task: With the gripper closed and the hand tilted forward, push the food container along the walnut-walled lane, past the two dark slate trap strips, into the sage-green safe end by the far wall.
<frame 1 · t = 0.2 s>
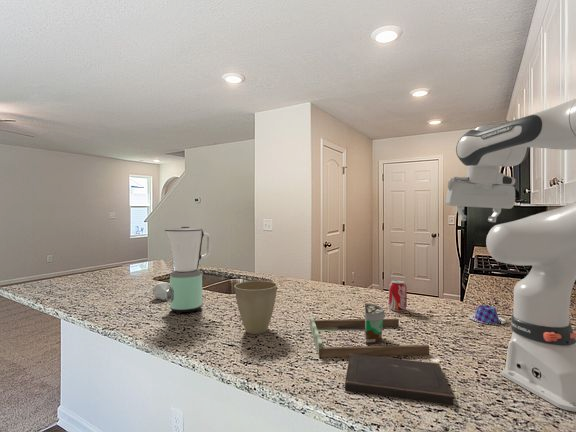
hand: (477, 221, 104), 38 cm above the countertop, tool pointing down, fingers open, 8 cm apart
green blender: (188, 310, 137), on the countertop
grey rock: (162, 299, 154), on the countertop
soda can: (397, 310, 136), on the countertop
food container: (375, 339, 105), on the countertop
plant pot: (256, 330, 114), on the countertop
hardcover book: (394, 382, 80), on the countertop
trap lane: (363, 339, 105), on the countertop
blue plaid hat: (486, 321, 123), on the countertop
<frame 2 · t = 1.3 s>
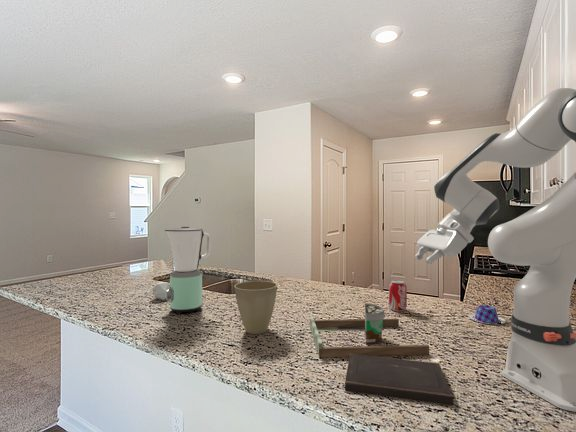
hand: (422, 260, 105), 25 cm above the countertop, tool tilted 45°, fingers open, 6 cm apart
nothing on the countertop moved.
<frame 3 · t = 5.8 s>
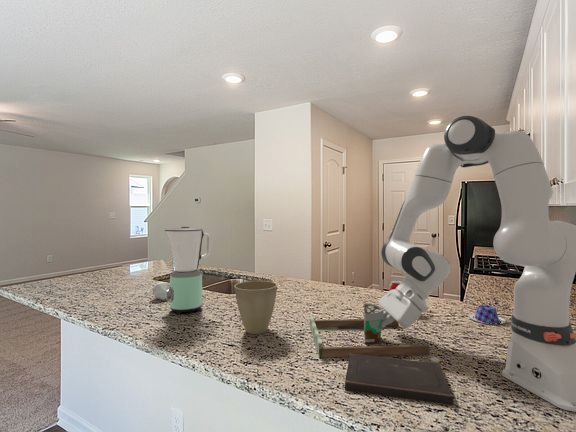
hand: (379, 325, 105), 4 cm above the countertop, tool tilted 45°, fingers closed, pressing on food container
food container: (374, 339, 105), on the countertop, touching gripper
everything else where it was.
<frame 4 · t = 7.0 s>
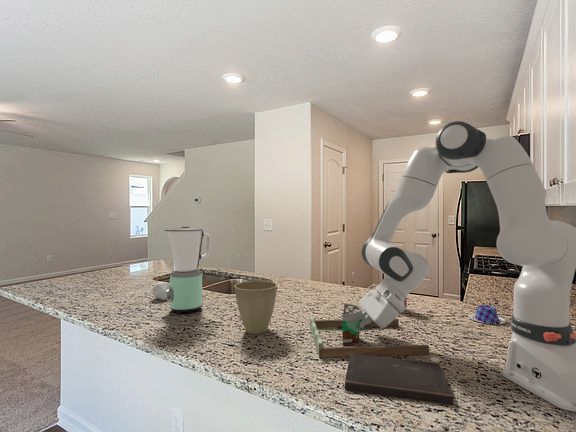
hand: (358, 325, 105), 5 cm above the countertop, tool tilted 45°, fingers closed, pressing on food container
food container: (352, 340, 105), on the countertop, touching gripper
everything else where it was.
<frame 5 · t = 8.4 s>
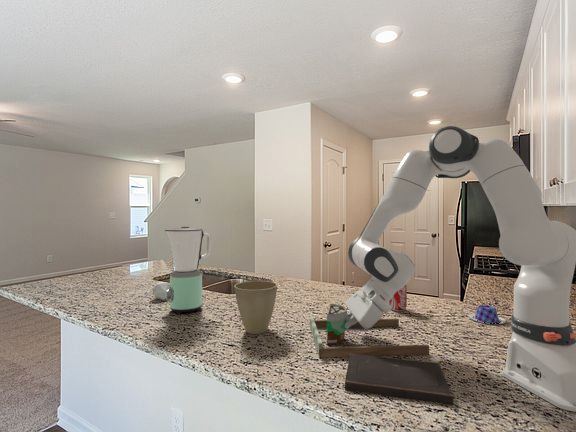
hand: (344, 325, 105), 4 cm above the countertop, tool tilted 45°, fingers closed, pressing on food container
food container: (338, 340, 105), on the countertop, touching gripper
everything else where it was.
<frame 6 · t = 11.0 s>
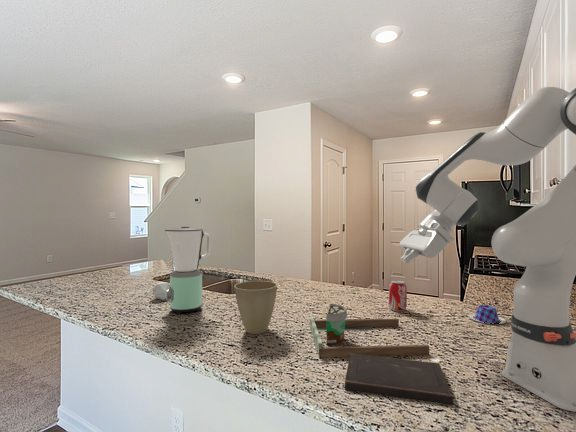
hand: (403, 261, 105), 25 cm above the countertop, tool tilted 45°, fingers closed
food container: (337, 340, 105), on the countertop
everything else where it was.
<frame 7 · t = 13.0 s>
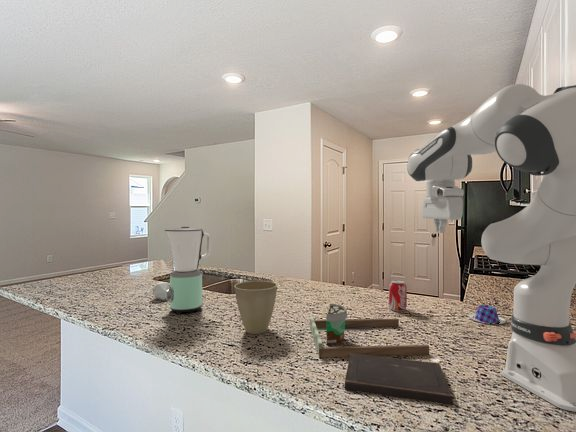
hand: (440, 232, 111), 34 cm above the countertop, tool pointing down, fingers closed
nothing on the countertop moved.
at the end: food container inside the target area (0.3 cm from its centre), on the countertop; food container tilted 0°; food container moved 12.2 cm from its start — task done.
